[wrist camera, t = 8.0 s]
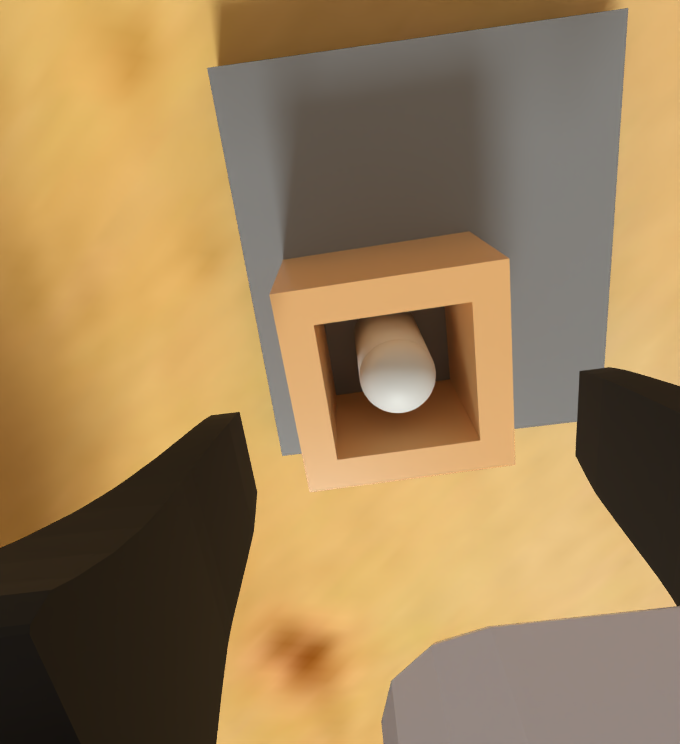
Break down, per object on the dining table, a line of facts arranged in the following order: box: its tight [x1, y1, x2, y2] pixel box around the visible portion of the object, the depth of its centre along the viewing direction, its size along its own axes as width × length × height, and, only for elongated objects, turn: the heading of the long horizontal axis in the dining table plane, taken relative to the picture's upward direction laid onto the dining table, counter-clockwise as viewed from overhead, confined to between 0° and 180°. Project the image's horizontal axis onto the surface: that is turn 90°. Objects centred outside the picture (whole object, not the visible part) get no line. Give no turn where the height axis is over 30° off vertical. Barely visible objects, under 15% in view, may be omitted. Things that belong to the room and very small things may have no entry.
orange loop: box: [269, 231, 515, 492], centre depth 16 cm, size 6×6×4 cm
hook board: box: [207, 8, 628, 456], centre depth 15 cm, size 12×11×6 cm
